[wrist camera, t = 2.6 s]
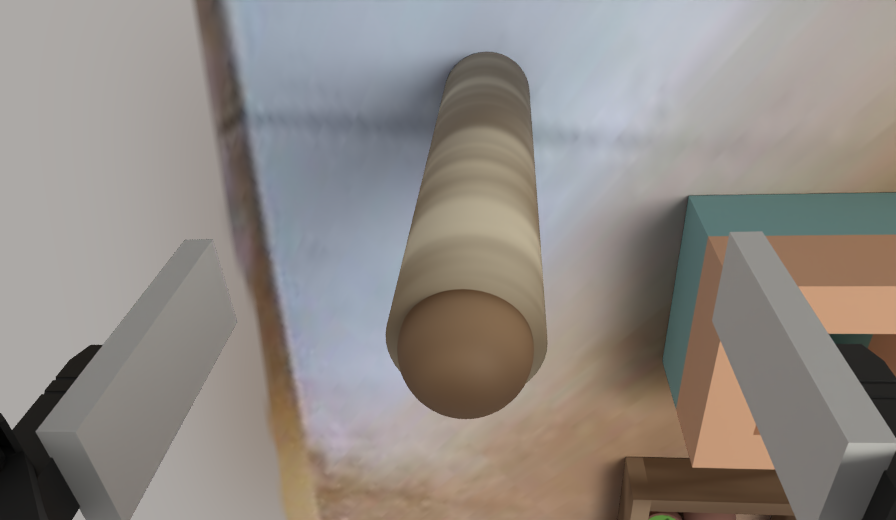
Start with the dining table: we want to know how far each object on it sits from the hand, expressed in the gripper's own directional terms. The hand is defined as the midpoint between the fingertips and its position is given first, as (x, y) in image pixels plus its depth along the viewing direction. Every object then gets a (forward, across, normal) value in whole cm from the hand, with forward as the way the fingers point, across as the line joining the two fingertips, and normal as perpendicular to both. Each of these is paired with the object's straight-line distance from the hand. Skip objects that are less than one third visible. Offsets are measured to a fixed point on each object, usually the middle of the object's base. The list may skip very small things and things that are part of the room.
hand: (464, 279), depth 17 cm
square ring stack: (+13, +14, -10) cm, 22 cm away
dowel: (+13, 0, 0) cm, 13 cm away
